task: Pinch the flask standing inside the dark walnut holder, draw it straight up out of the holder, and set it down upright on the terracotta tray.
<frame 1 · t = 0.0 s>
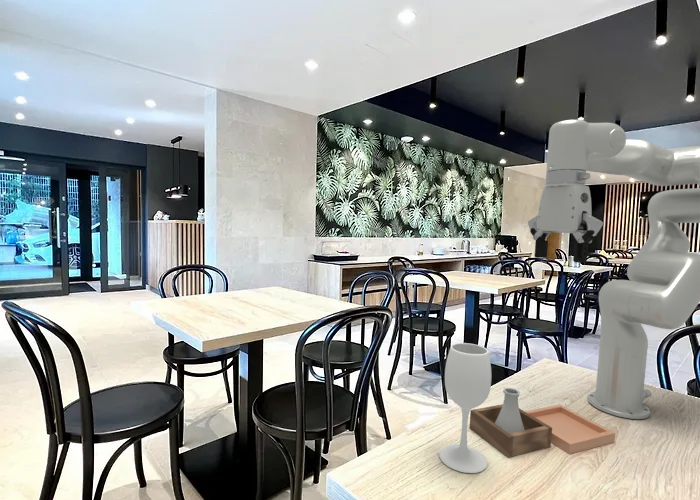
hand: (559, 259, 84), 37 cm above the table, tool pointing down, fingers open, 9 cm apart
walnut holder: (508, 437, 79), on the table
terracotta tray: (563, 431, 83), on the table
flask: (508, 438, 79), on the table
wineglass: (462, 459, 71), on the table
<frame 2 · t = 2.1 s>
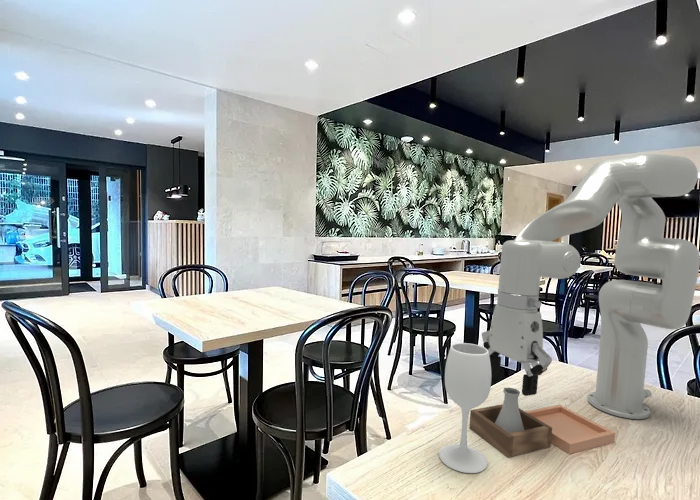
hand: (509, 384, 78), 11 cm above the table, tool pointing down, fingers open, 9 cm apart
nothing on the table moved.
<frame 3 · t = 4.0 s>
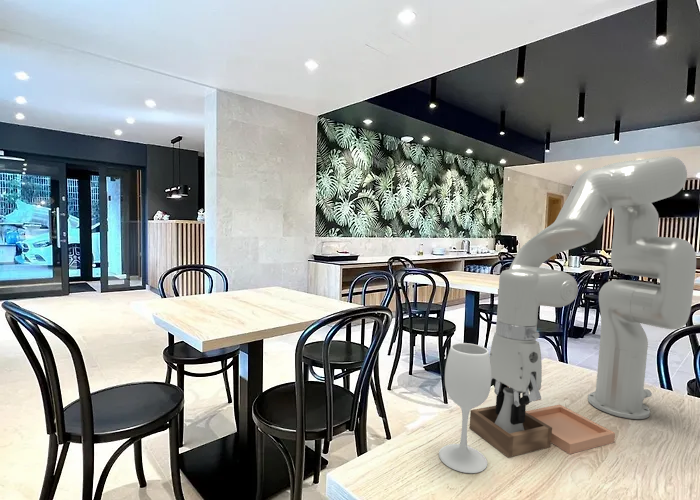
hand: (509, 417, 79), 4 cm above the table, tool pointing down, fingers closed on flask, 3 cm apart
flask: (508, 438, 79), on the table, touching gripper
everything else where it was.
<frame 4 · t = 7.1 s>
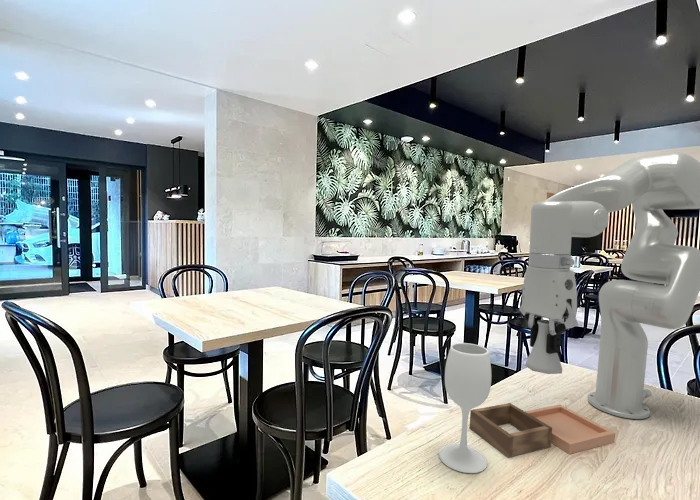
hand: (544, 348, 80), 18 cm above the table, tool pointing down, fingers closed on flask, 3 cm apart
flask: (543, 369, 80), point 14 cm above the table, touching gripper
everything else where it was.
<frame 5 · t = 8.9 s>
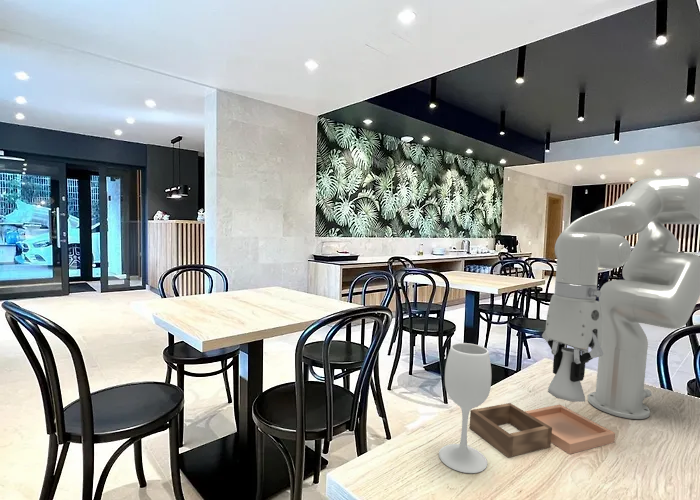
hand: (567, 376, 82), 12 cm above the table, tool pointing down, fingers closed on flask, 3 cm apart
flask: (565, 396, 82), point 8 cm above the table, touching gripper
everything else where it was.
when the fingers open (7 cm above the table, at t = 10.6 s): flask drops 2 cm, resting on terracotta tray.
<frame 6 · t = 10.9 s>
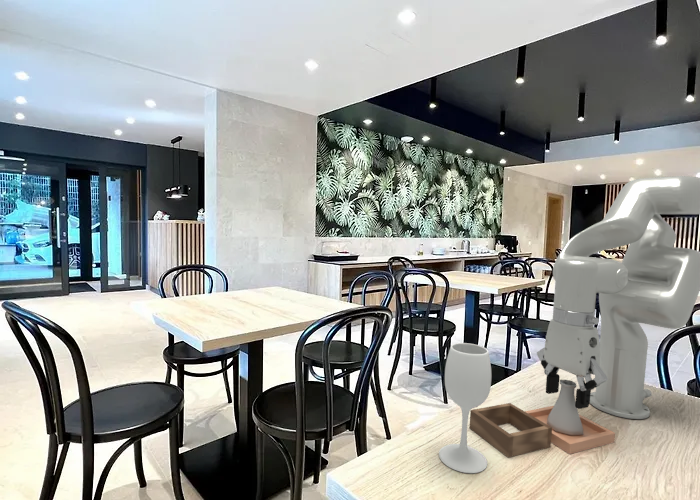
hand: (566, 399, 82), 7 cm above the table, tool pointing down, fingers open, 6 cm apart
flask: (564, 428, 83), point 1 cm above the table, touching terracotta tray
everything else where it was.
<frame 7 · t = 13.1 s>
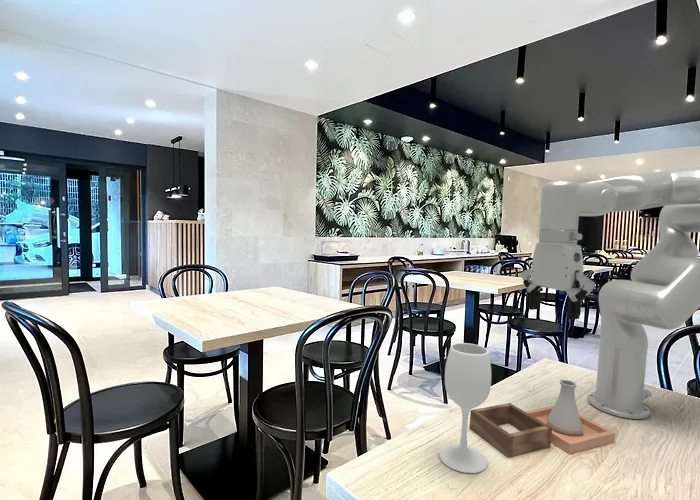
hand: (552, 313, 86), 24 cm above the table, tool pointing down, fingers open, 9 cm apart
nothing on the table moved.
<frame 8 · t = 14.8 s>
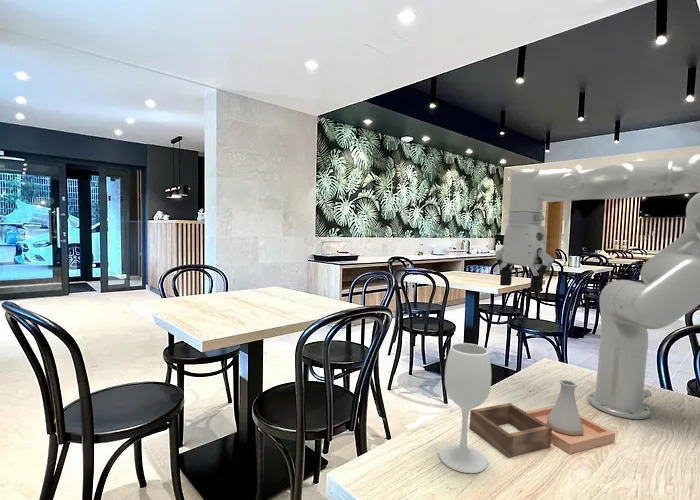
hand: (520, 288, 96), 28 cm above the table, tool pointing down, fingers open, 9 cm apart
nothing on the table moved.
at the end: flask inside the target area on the terracotta tray (0.2 cm from its centre), point 0.6 cm above the terracotta tray's base; flask tilted 0°; the gripper is holding nothing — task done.
